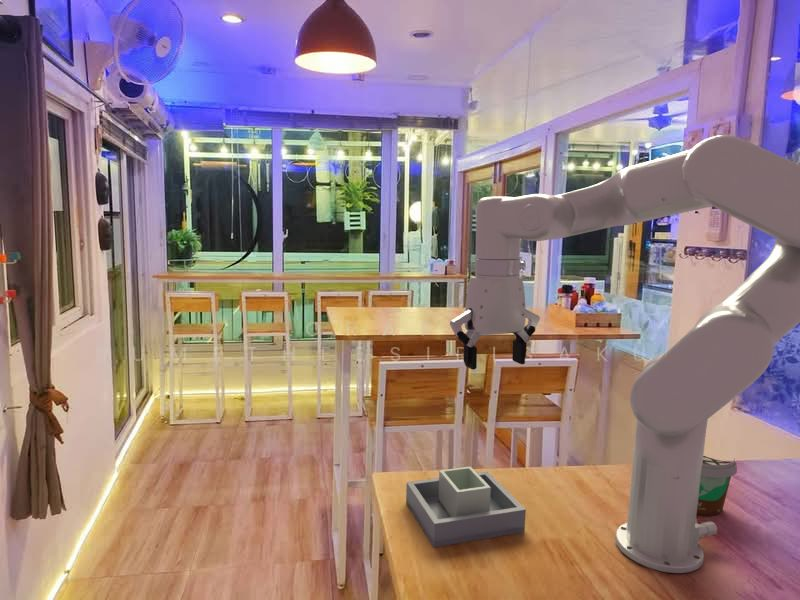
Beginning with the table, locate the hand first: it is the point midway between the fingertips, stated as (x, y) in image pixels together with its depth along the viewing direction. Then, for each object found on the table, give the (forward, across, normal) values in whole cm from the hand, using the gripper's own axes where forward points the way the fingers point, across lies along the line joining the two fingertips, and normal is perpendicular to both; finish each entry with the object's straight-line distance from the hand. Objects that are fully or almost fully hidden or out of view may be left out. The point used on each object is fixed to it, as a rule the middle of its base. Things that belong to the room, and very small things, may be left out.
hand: (494, 365), depth 99 cm
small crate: (+24, +8, +4) cm, 26 cm away
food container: (+26, -33, +15) cm, 44 cm away
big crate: (+25, +8, +4) cm, 27 cm away
